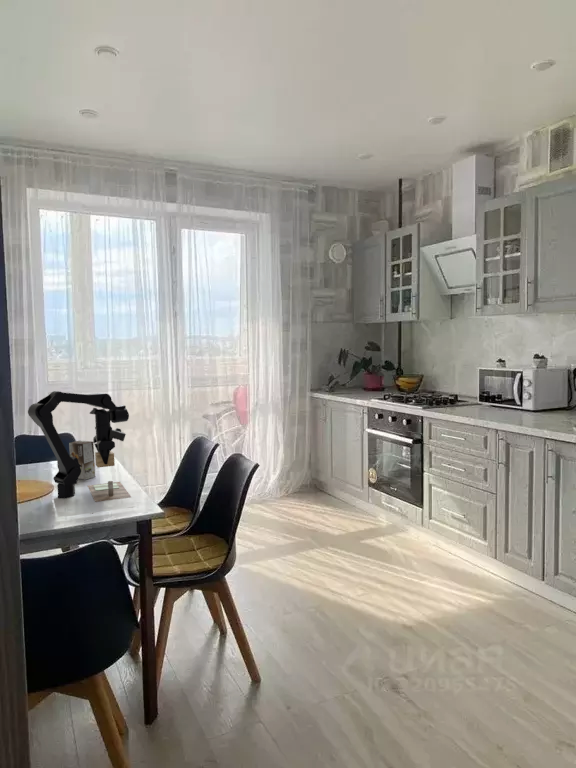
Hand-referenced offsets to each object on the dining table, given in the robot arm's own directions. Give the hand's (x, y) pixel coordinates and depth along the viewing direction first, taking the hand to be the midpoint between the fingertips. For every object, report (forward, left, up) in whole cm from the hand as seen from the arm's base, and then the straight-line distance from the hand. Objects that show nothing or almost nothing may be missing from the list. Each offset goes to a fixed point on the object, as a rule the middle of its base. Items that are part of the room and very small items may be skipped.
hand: (104, 462), depth 230 cm
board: (-5, -4, -11) cm, 13 cm away
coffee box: (+20, +23, -12) cm, 32 cm away
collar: (0, 0, -1) cm, 1 cm away
